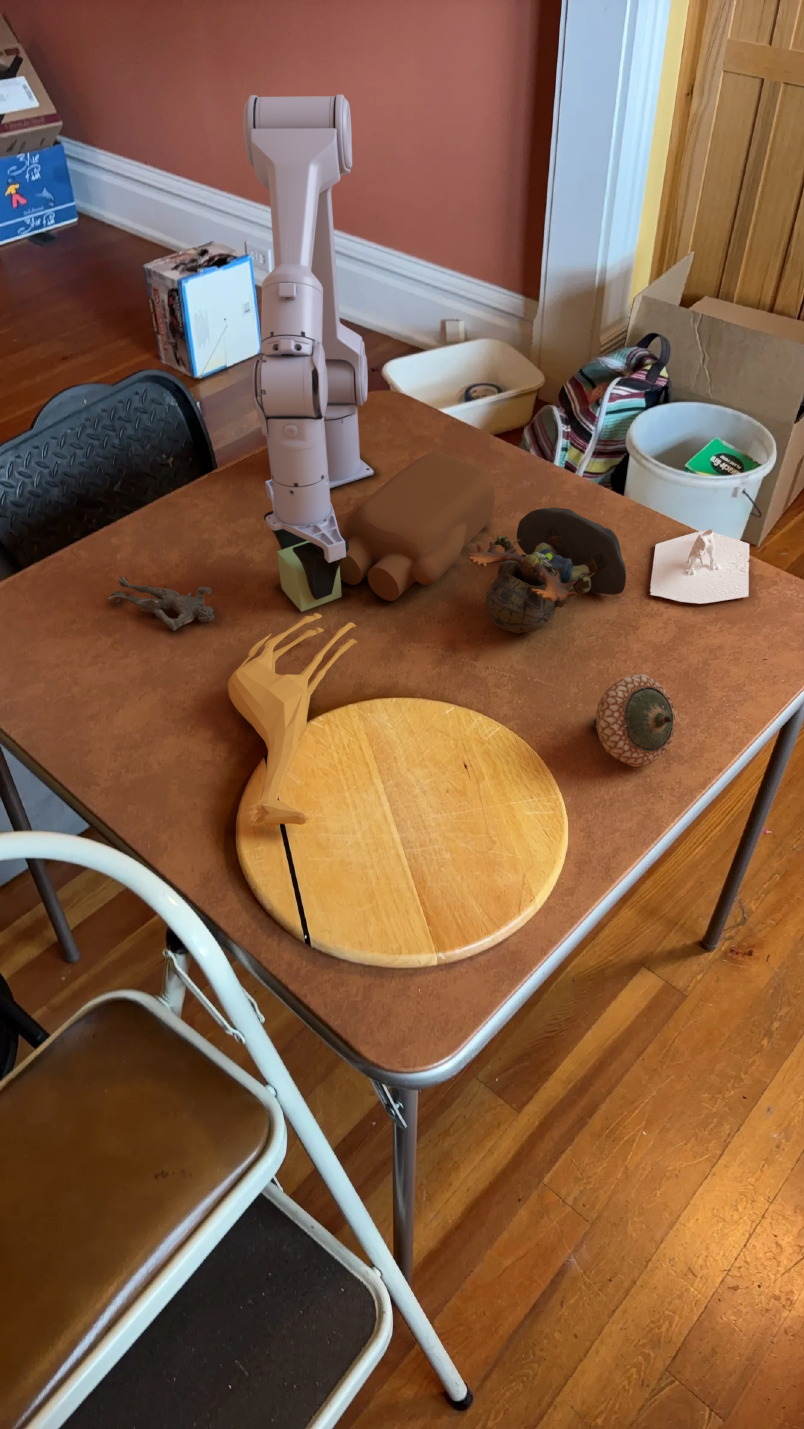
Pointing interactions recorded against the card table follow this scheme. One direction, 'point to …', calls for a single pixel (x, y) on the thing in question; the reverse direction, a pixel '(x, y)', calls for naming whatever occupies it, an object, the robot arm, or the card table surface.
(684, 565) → the dinosaur figurine
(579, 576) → the figurine
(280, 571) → the felt cube
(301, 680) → the giraffe
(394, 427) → the card table surface
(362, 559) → the toy
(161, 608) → the figurine
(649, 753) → the acorn
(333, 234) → the robot arm
